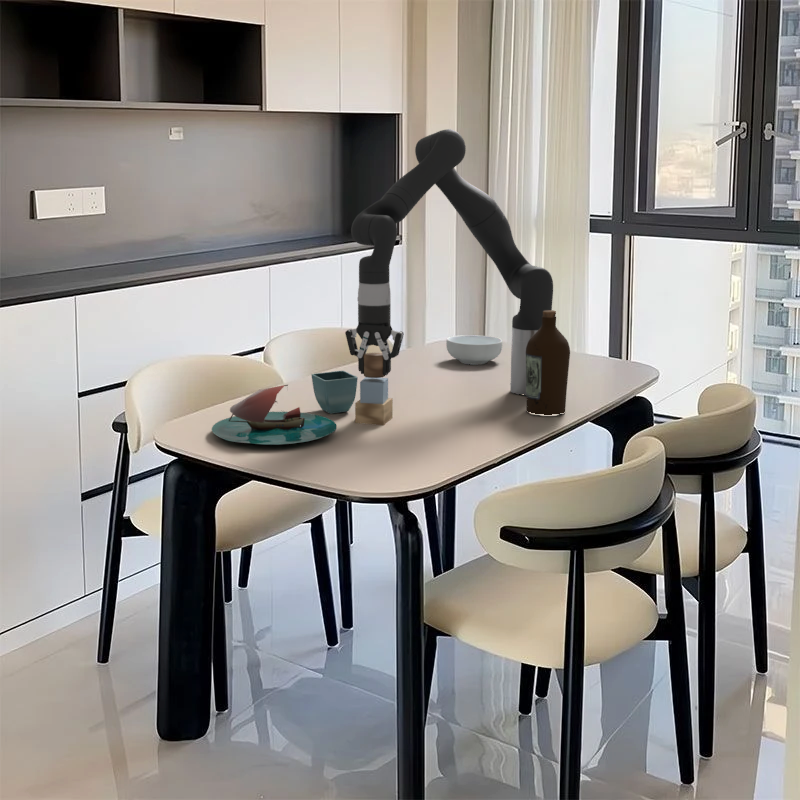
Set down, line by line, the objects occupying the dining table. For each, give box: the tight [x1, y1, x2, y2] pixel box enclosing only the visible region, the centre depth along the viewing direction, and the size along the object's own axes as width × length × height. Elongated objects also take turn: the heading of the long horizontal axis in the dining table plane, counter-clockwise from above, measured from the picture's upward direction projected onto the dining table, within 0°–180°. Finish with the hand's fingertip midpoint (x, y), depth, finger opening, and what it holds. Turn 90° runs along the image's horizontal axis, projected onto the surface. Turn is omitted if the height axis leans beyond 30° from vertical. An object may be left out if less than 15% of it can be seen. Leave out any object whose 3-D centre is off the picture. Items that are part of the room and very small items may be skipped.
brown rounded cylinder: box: [363, 352, 386, 378], centre depth 257 cm, size 5×5×5 cm
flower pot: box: [311, 370, 359, 415], centre depth 268 cm, size 9×9×9 cm
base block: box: [354, 397, 394, 426], centre depth 260 cm, size 7×7×5 cm
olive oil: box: [525, 310, 571, 415], centre depth 266 cm, size 11×11×25 cm
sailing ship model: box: [211, 384, 338, 446], centre depth 247 cm, size 28×28×11 cm
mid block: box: [359, 376, 389, 404], centre depth 259 cm, size 6×6×5 cm
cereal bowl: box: [446, 334, 503, 366], centre depth 328 cm, size 17×17×7 cm
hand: (374, 373), depth 258 cm, fingers closed on brown rounded cylinder, 5 cm apart
